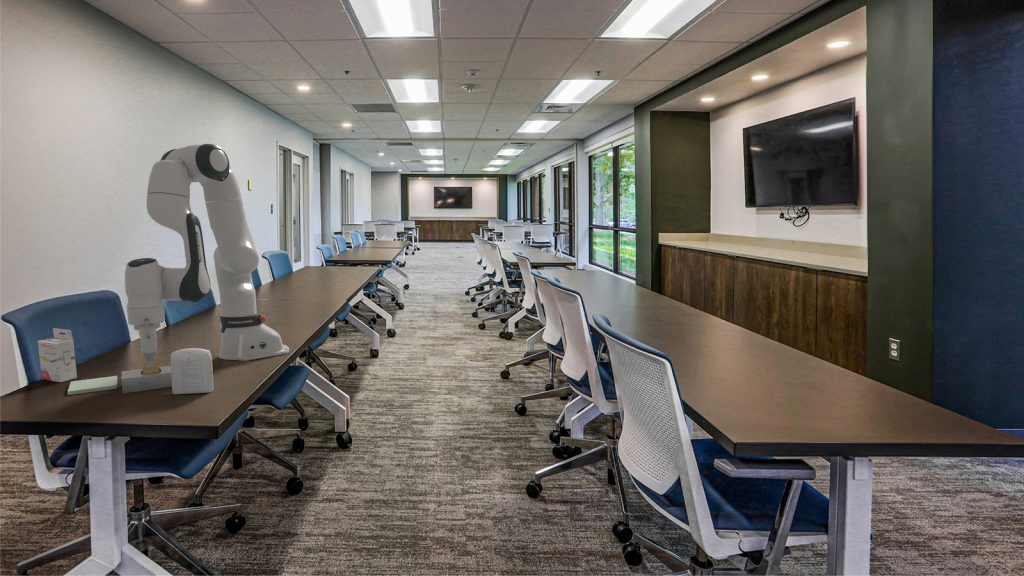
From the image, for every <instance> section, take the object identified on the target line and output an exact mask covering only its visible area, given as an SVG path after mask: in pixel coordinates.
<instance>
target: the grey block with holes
mask: <svg viewBox="0 0 1024 576" xmlns="http://www.w3.org/2000/svg"><path fill="white" fill-rule="evenodd" d="M120 380H121V387H122V390H121V391H122V394H127V393H134V392H135V393H136V392H141V391H148V390H155V389H162V388H163V389H164V388H170V387H171V388H172V377H171V364H170V365H165V366H164V365H163V366H159V373H151V374H143V370H142V368H138V369H130V370H123V371H121V379H120Z"/></svg>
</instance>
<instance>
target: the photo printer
mask: <svg viewBox="0 0 1024 576" xmlns="http://www.w3.org/2000/svg"><path fill="white" fill-rule="evenodd" d="M170 355H171V356H170V365H171V377H172V386H171V389H172V391H171V392H172V395H186V394H205V393H212V392H214V390H215V389H214V373H213V371H214V370H213V356H212V352H211V350H209V349H205V348H199V347H188V348H182V349H178V350H175V351H172V353H171V354H170Z"/></svg>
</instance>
